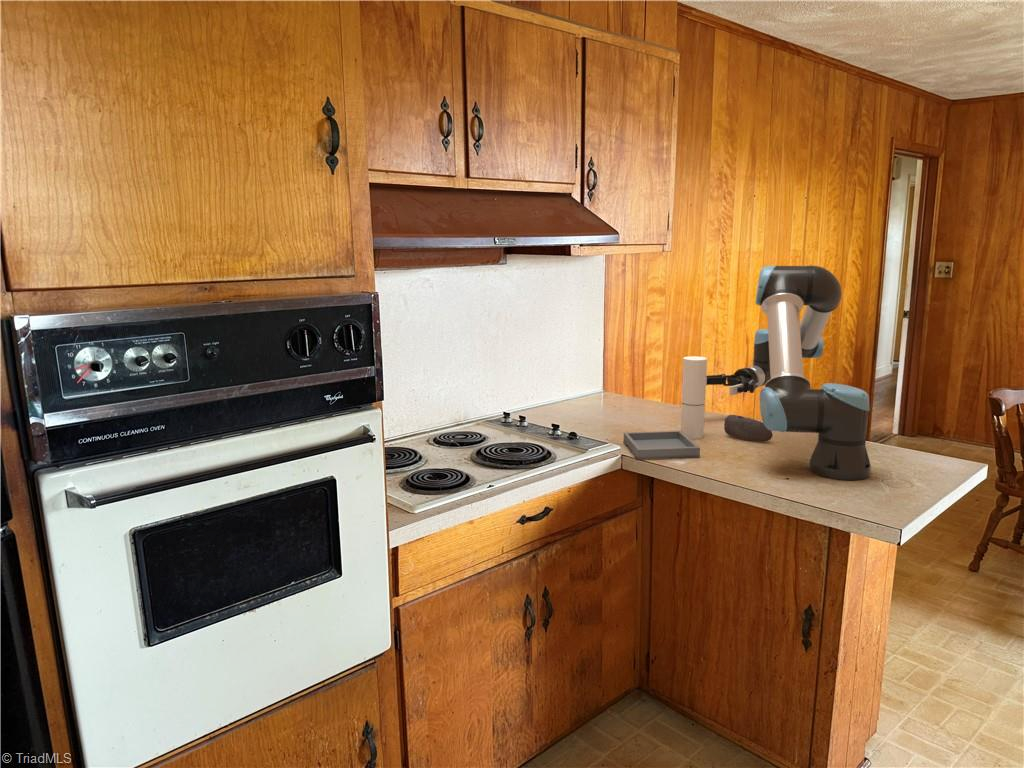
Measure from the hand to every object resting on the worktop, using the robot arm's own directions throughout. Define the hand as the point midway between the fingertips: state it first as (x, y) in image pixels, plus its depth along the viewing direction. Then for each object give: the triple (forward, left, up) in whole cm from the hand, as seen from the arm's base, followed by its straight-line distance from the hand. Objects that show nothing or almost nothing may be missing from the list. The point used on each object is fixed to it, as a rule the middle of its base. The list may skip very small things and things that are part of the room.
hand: (711, 387), depth 234 cm
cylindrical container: (-6, +8, -14) cm, 17 cm away
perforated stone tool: (-12, -8, -14) cm, 20 cm away
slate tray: (-19, +22, -14) cm, 32 cm away
